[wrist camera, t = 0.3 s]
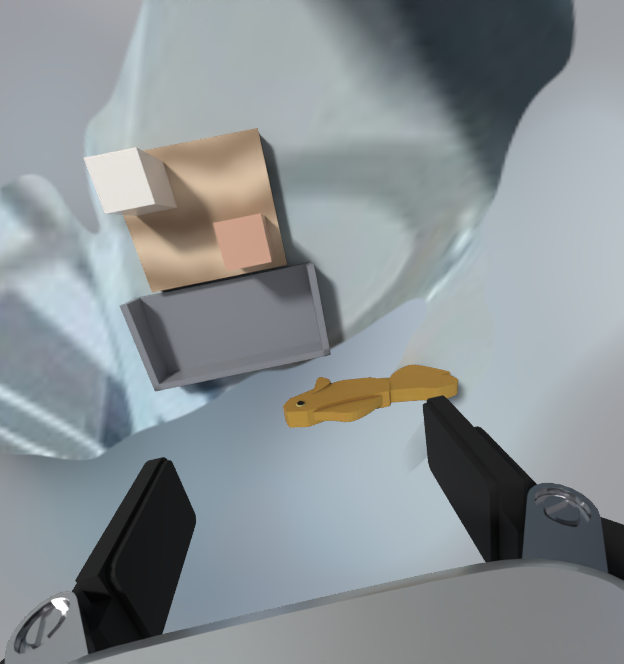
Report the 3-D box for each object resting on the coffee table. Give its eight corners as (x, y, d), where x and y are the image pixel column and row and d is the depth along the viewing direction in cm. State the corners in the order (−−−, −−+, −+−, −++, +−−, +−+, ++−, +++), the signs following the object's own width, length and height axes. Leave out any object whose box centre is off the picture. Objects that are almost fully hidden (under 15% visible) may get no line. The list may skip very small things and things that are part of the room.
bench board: (112, 162, 33) (102, 158, 31) (259, 133, 33) (257, 128, 32) (158, 289, 38) (152, 292, 36) (286, 262, 38) (286, 264, 36)
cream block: (119, 170, 32) (83, 157, 26) (162, 161, 32) (136, 147, 26) (135, 215, 33) (105, 213, 28) (177, 207, 33) (155, 203, 28)
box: (136, 298, 38) (119, 305, 34) (311, 262, 38) (314, 266, 35) (166, 376, 42) (155, 391, 38) (326, 343, 42) (330, 354, 38)
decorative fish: (278, 406, 43) (297, 451, 34) (275, 386, 42) (293, 427, 33) (416, 368, 49) (463, 398, 39) (415, 350, 48) (464, 376, 38)
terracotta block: (224, 223, 34) (212, 223, 29) (264, 215, 34) (260, 213, 29) (235, 264, 36) (226, 271, 30) (274, 256, 36) (271, 261, 30)
